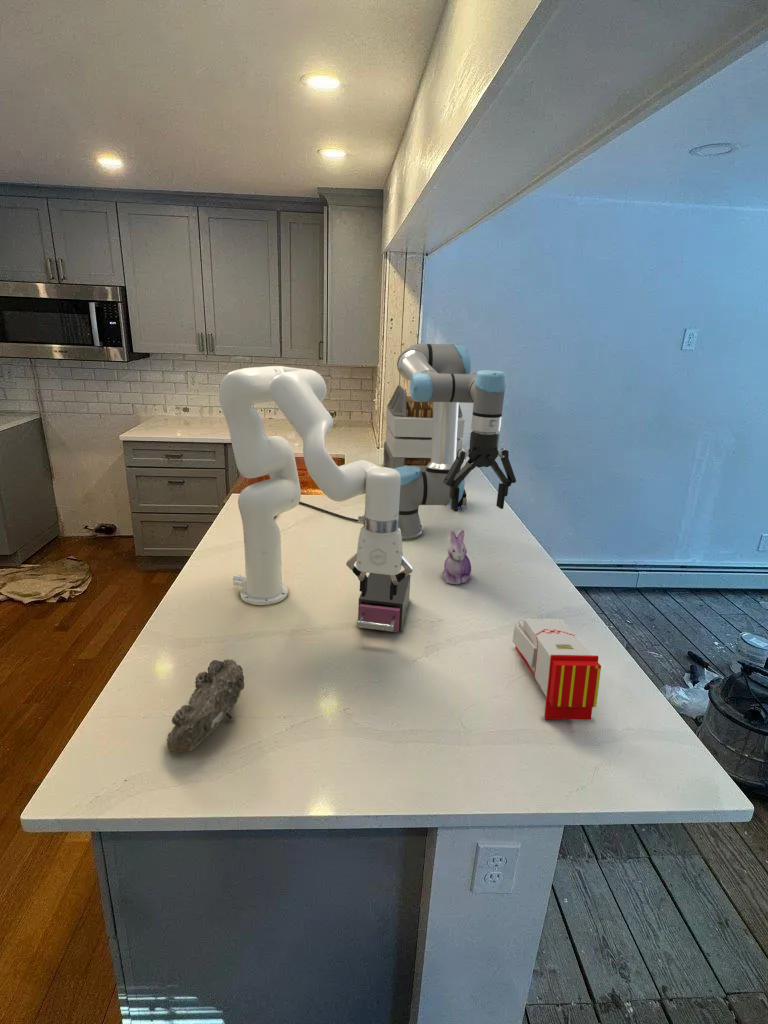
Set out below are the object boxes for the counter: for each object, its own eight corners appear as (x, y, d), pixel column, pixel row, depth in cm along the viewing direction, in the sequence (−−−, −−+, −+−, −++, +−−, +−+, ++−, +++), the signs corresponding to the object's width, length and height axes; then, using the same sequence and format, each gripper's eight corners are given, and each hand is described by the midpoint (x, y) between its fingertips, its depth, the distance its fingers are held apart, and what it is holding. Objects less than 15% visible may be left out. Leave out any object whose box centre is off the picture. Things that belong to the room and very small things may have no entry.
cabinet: (401, 632, 139) (403, 603, 137) (357, 626, 141) (358, 598, 138) (409, 600, 155) (410, 574, 152) (369, 595, 156) (370, 570, 153)
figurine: (453, 588, 162) (457, 540, 157) (434, 573, 170) (437, 527, 165) (479, 582, 166) (485, 535, 161) (459, 568, 175) (464, 523, 170)
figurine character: (467, 515, 225) (461, 499, 238) (469, 498, 221) (463, 482, 235) (450, 514, 224) (445, 498, 238) (452, 497, 221) (447, 482, 234)
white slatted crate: (382, 463, 289) (386, 382, 275) (445, 464, 293) (451, 384, 279) (390, 482, 257) (394, 392, 243) (460, 483, 261) (468, 394, 247)
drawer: (394, 644, 132) (396, 622, 130) (354, 639, 134) (354, 617, 132) (405, 602, 152) (406, 582, 149) (369, 598, 153) (370, 578, 151)
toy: (557, 603, 136) (610, 662, 107) (552, 655, 139) (602, 726, 109) (507, 602, 136) (546, 661, 106) (503, 654, 138) (540, 725, 109)
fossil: (192, 660, 117) (244, 628, 112) (224, 691, 120) (276, 661, 115) (142, 746, 98) (202, 712, 93) (182, 779, 101) (242, 748, 96)
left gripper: (339, 525, 123) (338, 599, 130) (418, 533, 121) (413, 607, 127) (347, 514, 130) (345, 584, 137) (421, 521, 128) (416, 592, 134)
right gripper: (446, 435, 141) (439, 515, 148) (535, 434, 147) (524, 510, 155) (435, 429, 147) (429, 506, 155) (520, 428, 154) (511, 501, 161)
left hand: (378, 595), depth 132 cm, fingers open, 5 cm apart
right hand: (477, 508), depth 155 cm, fingers open, 13 cm apart
